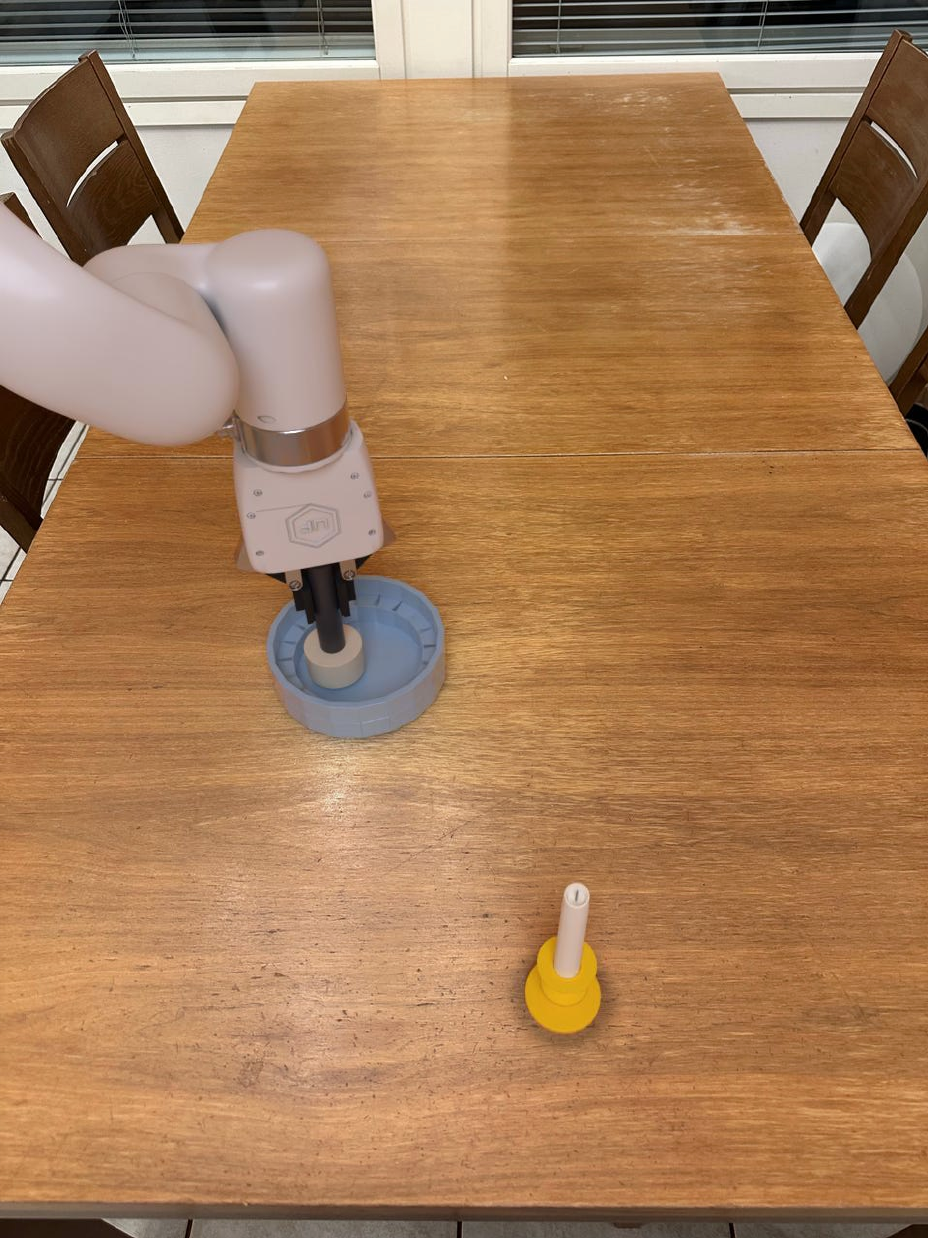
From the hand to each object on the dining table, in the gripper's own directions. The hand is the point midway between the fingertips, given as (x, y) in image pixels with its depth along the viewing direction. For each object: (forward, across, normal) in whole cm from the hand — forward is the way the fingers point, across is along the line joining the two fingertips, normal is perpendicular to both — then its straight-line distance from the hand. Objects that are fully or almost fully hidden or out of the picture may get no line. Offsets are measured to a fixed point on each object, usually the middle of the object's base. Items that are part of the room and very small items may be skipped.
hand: (326, 607), depth 78 cm
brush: (+8, 0, 0) cm, 8 cm away
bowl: (+9, +2, 0) cm, 10 cm away
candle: (+9, +10, -32) cm, 35 cm away
